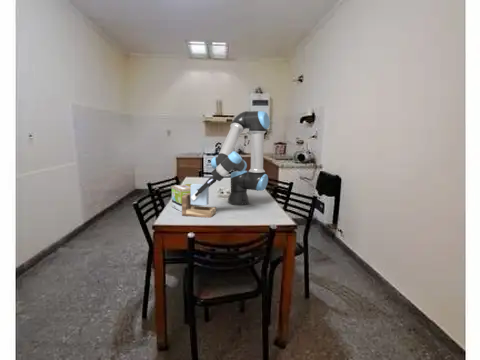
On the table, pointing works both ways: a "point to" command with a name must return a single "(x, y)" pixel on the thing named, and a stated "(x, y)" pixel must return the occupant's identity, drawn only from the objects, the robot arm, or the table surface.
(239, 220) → the table surface
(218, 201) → the table surface
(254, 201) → the table surface
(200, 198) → the pale blue rectangular block
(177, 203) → the tea box
